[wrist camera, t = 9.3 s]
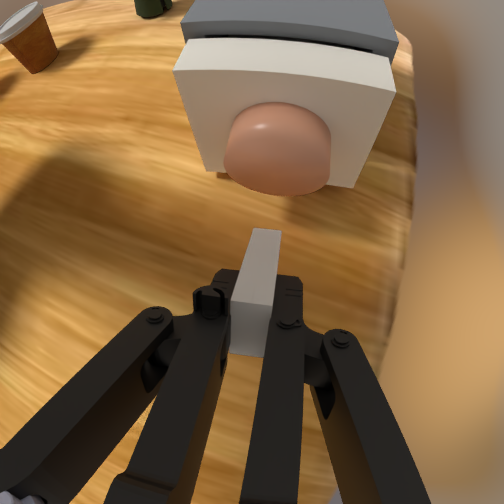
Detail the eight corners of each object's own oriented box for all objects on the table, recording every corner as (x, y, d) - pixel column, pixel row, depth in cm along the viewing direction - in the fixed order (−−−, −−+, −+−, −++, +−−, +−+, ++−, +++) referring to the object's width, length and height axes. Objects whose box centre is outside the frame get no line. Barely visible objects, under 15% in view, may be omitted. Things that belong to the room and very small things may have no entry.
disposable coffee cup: (47, 45, 40) (23, 4, 29) (75, 43, 39) (50, -4, 27) (15, 80, 38) (-15, 39, 27) (39, 80, 36) (7, 33, 25)
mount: (355, 158, 28) (398, 42, 15) (211, 142, 29) (180, 22, 16) (349, 60, 33) (368, -33, 19) (239, 49, 34) (229, -45, 20)
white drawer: (351, 219, 25) (403, 130, 14) (198, 200, 26) (156, 105, 15) (348, 62, 31) (364, -19, 20) (240, 51, 32) (231, -31, 21)
